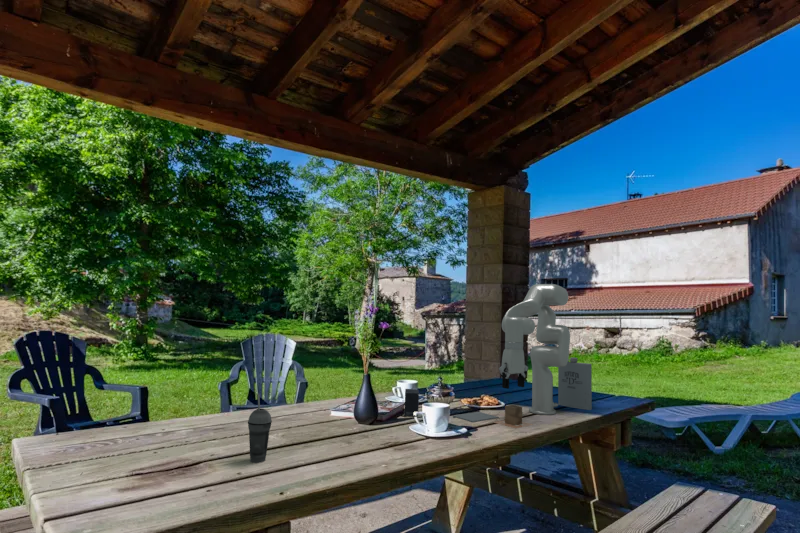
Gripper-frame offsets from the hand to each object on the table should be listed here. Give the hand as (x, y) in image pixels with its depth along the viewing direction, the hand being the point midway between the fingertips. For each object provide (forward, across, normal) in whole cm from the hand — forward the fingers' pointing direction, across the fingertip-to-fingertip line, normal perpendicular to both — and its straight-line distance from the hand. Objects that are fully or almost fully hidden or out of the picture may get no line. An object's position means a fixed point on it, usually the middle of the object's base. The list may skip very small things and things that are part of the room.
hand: (513, 387), depth 205 cm
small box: (+16, +23, -39) cm, 49 cm away
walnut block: (+15, -1, 0) cm, 15 cm away
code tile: (+16, -1, 0) cm, 16 cm away
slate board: (+16, +5, -16) cm, 23 cm away
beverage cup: (+18, +105, -11) cm, 107 cm away
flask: (+15, -61, -11) cm, 63 cm away
